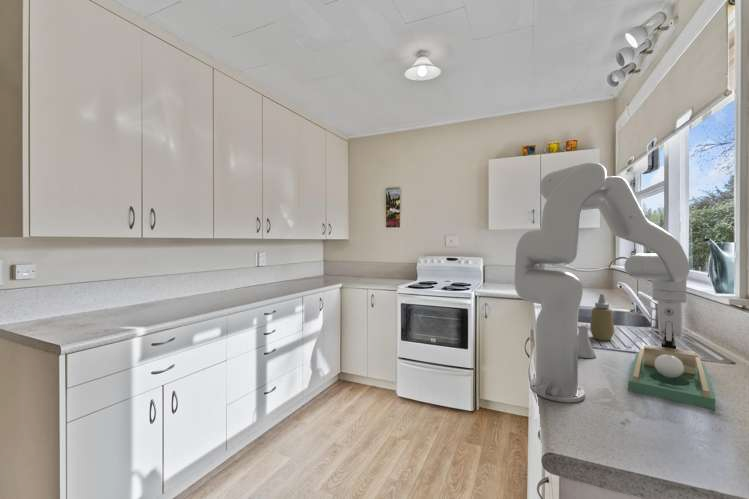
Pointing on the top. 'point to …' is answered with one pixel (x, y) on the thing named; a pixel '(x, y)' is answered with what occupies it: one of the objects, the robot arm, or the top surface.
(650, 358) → the tan wooden block
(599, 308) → the squeeze bottle
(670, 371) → the ball
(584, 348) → the flask
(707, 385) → the putting mat
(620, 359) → the top surface
